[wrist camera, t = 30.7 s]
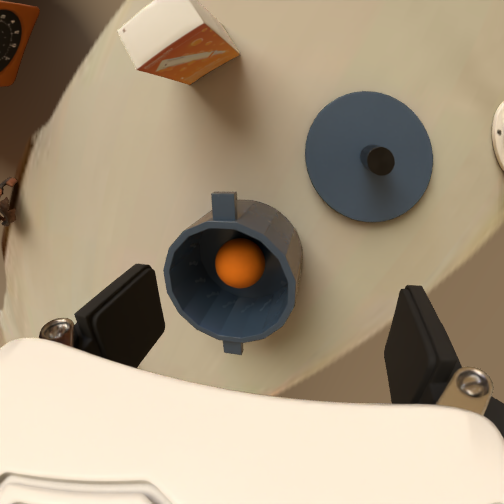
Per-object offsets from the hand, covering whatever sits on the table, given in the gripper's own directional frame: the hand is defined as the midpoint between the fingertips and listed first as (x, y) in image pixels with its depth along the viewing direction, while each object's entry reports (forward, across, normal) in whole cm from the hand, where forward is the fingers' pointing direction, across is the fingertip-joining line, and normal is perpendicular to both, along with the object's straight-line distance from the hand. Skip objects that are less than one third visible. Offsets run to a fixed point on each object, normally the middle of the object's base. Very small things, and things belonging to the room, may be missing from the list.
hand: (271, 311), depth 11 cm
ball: (+28, +8, +10) cm, 30 cm away
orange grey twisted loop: (+28, +63, 0) cm, 69 cm away
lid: (+28, -8, -4) cm, 29 cm away
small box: (+28, +13, -18) cm, 36 cm away
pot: (+28, +8, +10) cm, 31 cm away
